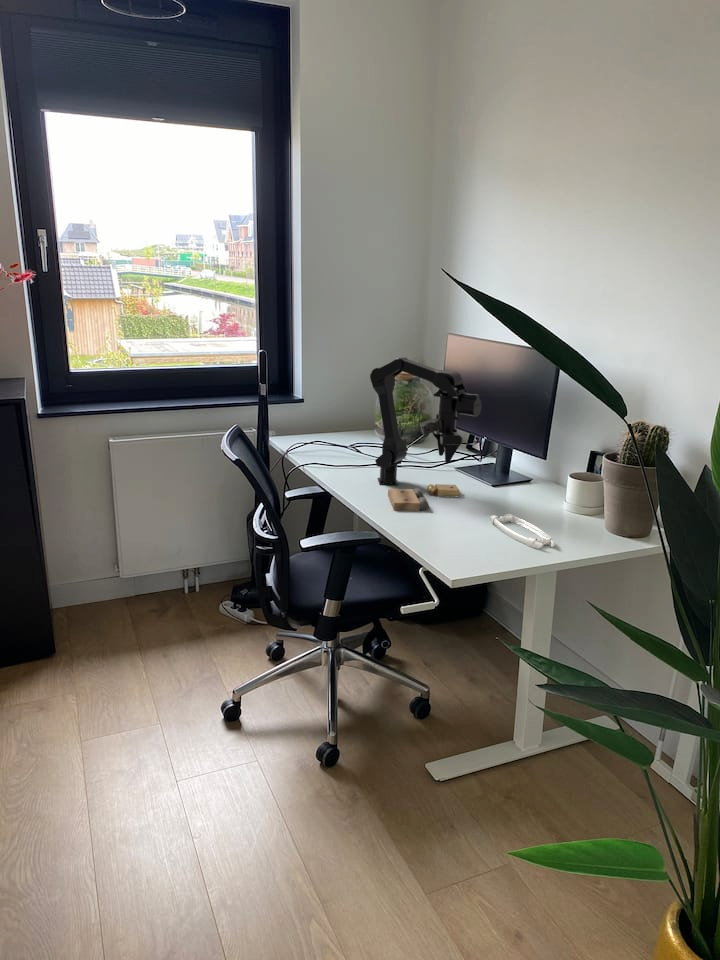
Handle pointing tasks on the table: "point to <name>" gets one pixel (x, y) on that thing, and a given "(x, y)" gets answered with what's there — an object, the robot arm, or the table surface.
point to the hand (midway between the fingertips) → (443, 459)
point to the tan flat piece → (407, 499)
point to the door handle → (528, 541)
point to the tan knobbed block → (443, 490)
